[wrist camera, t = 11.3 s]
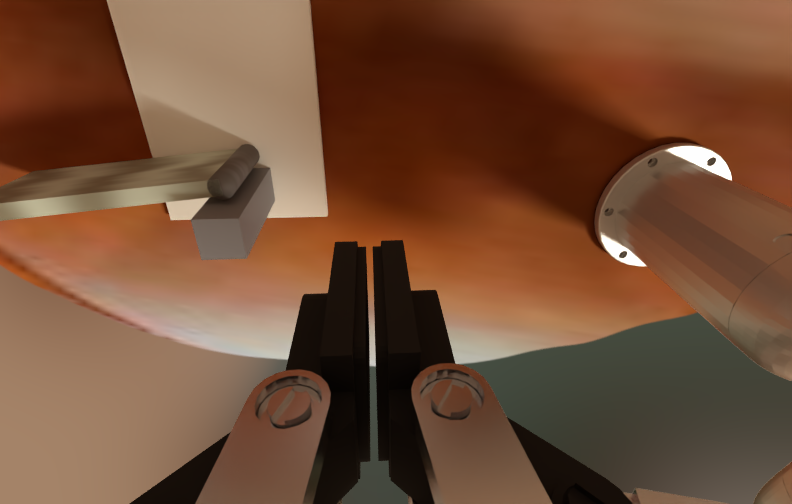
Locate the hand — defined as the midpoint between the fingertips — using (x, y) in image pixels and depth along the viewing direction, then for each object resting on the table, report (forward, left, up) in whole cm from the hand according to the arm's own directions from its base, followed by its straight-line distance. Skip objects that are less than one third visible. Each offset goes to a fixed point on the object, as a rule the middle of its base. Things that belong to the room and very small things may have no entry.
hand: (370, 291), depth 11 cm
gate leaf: (+18, +5, -26) cm, 32 cm away
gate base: (+11, -3, -27) cm, 29 cm away
